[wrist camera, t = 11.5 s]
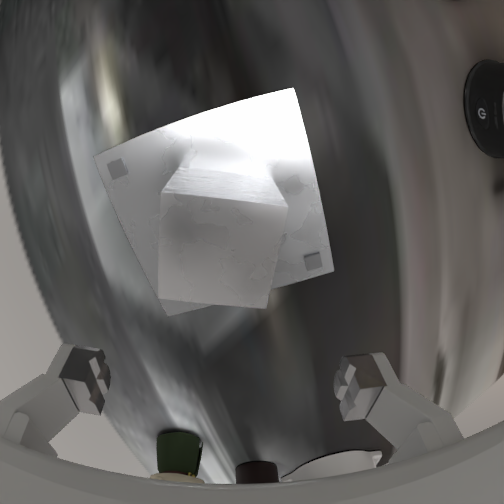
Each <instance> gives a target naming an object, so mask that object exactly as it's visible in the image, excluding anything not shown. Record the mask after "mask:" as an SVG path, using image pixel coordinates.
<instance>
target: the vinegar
mask: <svg viewBox="0 0 504 504" xmlns="http://www.w3.org/2000/svg"><path fill="white" fill-rule="evenodd" d="M278 482H279V479H278V472H277V467H276V466H275V465H274V464H272V463H270V462H261V461H259V462H249V463H245V464H242V465H240V466H238V467H237V468H236V484H261V483H278Z"/></svg>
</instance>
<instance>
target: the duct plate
mask: <svg viewBox="0 0 504 504" xmlns="http://www.w3.org/2000/svg"><path fill="white" fill-rule="evenodd" d="M93 158H94V161H95V164H96V166H97V169H98V171H99V174H100V176H101V179H102V181H103V184H104V186H105V189H106V191H107V193H108V196H109V198H110V200H111V203H112V205H113V207H114V210H115V212H116V214H117V216H118V219H119V221H120V223H121V225H122V228H123V230H124V232H125V234H126V236H127V238H128V240H129V243H130V245H131V247H132V249H133V251H134V253H135V255H136V257H137V259H138V261H139V263H140V265H141V267H142V269H143V271H144V273H145V275H146V277H147V279H148V281H149V283H150V285H151V287H152V289H153V290H154V292H155V294H156V296H157V298H158V257H159V222H160V201H161V191H162V190H163V189H164V187H165V186H166V184H167V183H168V182H169V180H170V179H171V177H172V176H173V175H174V173H175V172H176V170H177V169H178V168H179V167H182V168H192V169H202V170H211V171H220V172H229V173H237V174H244V175H252V176H259V177H266V178H273V180H274V182H275V184H276V185H277V187H278V189H279V191H280V192H281V194H282V196H283V198H284V200H285V201H286V203H287V205H288V212H287V217H286V221H285V226H284V231H283V235H282V240H281V245H280V249H279V254H278V258H277V263H276V267H275V272H274V276H273V281H272V285H271V289H275V288H278V287H282V286H285V285H289V284H292V283H296V282H299V281H303V280H306V279H309V278H313V277H316V276H320V275H323V274H326V273H330V272H333V271H334V267H333V261H332V255H331V249H330V244H329V238H328V233H327V227H326V222H325V217H324V212H323V207H322V202H321V197H320V193H319V188H318V183H317V179H316V174H315V170H314V165H313V161H312V157H311V152H310V148H309V144H308V140H307V136H306V132H305V128H304V124H303V120H302V116H301V113H300V109H299V105H298V102H297V98H296V94H295V91H294V88H291V89H286V90H282V91H277V92H273V93H269V94H265V95H261V96H257V97H253V98H250V99H246V100H242V101H239V102H235V103H232V104H229V105H225V106H222V107H219V108H215V109H212V110H209V111H206V112H203V113H200V114H197V115H194V116H191V117H188V118H185V119H182V120H180V121H177V122H174V123H171V124H169V125H166V126H163V127H161V128H158V129H156V130H153V131H150V132H148V133H145V134H143V135H141V136H138V137H136V138H133V139H131V140H129V141H126V142H124V143H122V144H119V145H117V146H115V147H113V148H111V149H108V150H106V151H104V152H102V153H100V154H98V155H96V156H93ZM158 300H159V302H160V304H161V305H162V307H163V309H164V311H165V313H166V315H167V316H168V317H169V316H173V315H177V314H181V313H185V312H189V311H193V310H197V309H201V308H205V307H209V306H212V305H215V304H205V303H195V302H186V301H177V300H168V299H160V298H158Z"/></svg>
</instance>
